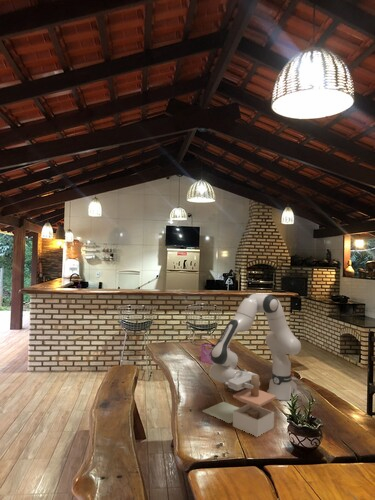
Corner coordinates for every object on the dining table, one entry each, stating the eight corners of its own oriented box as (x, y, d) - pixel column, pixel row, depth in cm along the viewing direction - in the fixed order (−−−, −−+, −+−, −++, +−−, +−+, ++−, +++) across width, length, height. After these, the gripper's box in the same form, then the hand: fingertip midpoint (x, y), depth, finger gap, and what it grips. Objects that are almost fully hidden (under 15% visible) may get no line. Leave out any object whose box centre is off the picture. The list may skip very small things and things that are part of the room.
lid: (250, 391, 207) (251, 368, 207) (276, 401, 196) (277, 376, 195) (232, 400, 195) (233, 375, 195) (259, 410, 184) (260, 384, 184)
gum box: (231, 364, 299) (232, 347, 298) (227, 367, 292) (228, 349, 291) (204, 359, 310) (205, 342, 310) (200, 361, 303) (201, 344, 303)
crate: (249, 417, 206) (250, 403, 206) (273, 427, 196) (274, 412, 196) (232, 426, 195) (233, 410, 195) (257, 437, 185) (258, 421, 185)
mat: (223, 402, 225) (223, 401, 225) (250, 413, 212) (250, 412, 212) (202, 411, 211) (202, 410, 211) (229, 423, 198) (229, 422, 198)
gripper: (223, 377, 197) (245, 384, 187) (245, 368, 211) (267, 375, 202) (222, 389, 197) (244, 397, 187) (245, 379, 212) (266, 386, 202)
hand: (256, 385), depth 195 cm, fingers closed on lid, 4 cm apart
